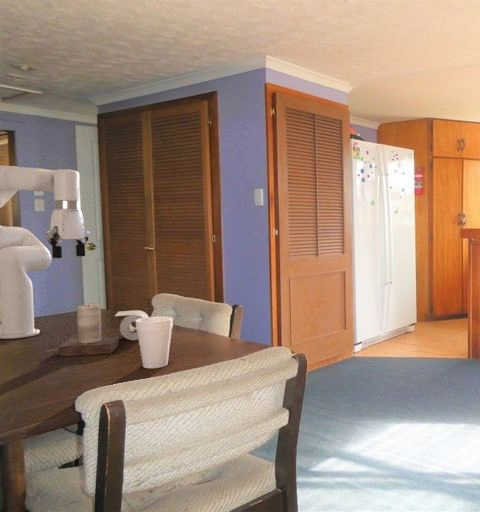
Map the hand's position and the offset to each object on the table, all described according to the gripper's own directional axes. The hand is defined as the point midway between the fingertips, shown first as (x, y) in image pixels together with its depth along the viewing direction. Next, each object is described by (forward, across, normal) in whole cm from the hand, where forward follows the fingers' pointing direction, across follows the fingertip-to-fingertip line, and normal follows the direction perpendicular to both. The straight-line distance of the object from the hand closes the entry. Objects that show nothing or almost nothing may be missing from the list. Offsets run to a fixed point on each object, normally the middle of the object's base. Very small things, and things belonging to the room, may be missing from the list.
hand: (69, 257), depth 179 cm
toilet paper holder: (+28, -9, +20) cm, 36 cm away
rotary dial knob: (+25, +11, +18) cm, 33 cm away
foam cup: (+28, +21, +49) cm, 61 cm away
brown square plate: (+28, +12, +18) cm, 36 cm away
